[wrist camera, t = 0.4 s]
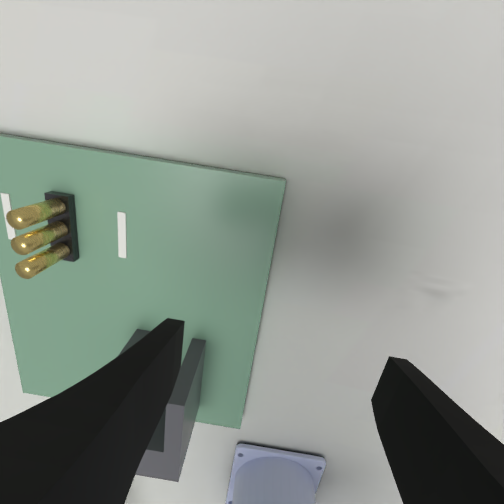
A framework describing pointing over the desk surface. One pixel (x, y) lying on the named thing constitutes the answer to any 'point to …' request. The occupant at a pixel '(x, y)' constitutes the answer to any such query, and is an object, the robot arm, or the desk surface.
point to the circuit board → (139, 265)
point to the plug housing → (174, 416)
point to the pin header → (45, 233)
